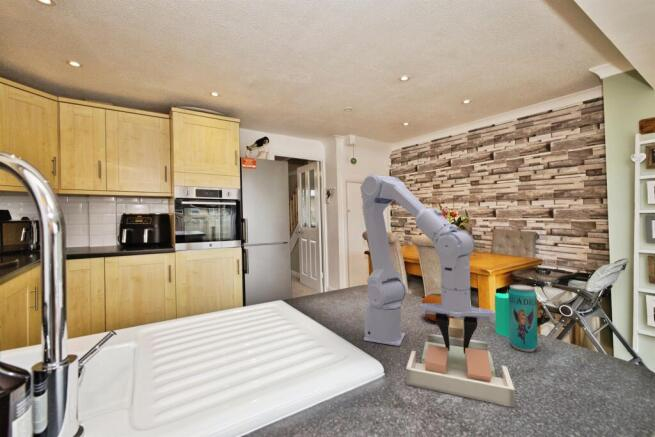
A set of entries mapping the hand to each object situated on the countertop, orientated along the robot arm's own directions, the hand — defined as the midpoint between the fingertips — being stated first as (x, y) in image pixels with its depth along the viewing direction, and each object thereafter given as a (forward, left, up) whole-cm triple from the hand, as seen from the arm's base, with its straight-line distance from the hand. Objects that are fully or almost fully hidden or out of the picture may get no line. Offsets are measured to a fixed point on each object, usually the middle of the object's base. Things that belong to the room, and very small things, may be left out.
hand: (456, 350), depth 62 cm
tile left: (-4, -3, -2) cm, 5 cm away
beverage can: (+15, +17, -4) cm, 23 cm away
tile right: (+4, -3, -2) cm, 5 cm away
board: (0, +3, -4) cm, 5 cm away
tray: (0, -6, -4) cm, 7 cm away
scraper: (0, +12, -4) cm, 13 cm away
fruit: (-5, +30, -4) cm, 30 cm away
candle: (+13, +26, -4) cm, 29 cm away
